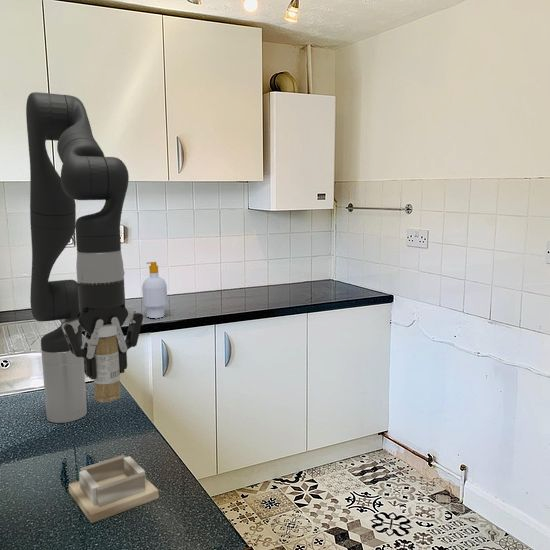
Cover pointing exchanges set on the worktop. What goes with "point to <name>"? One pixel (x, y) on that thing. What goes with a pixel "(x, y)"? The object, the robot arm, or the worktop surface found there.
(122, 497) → the collar base
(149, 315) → the soap bottle
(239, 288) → the worktop surface
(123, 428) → the worktop surface
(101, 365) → the sprinkles bottle
